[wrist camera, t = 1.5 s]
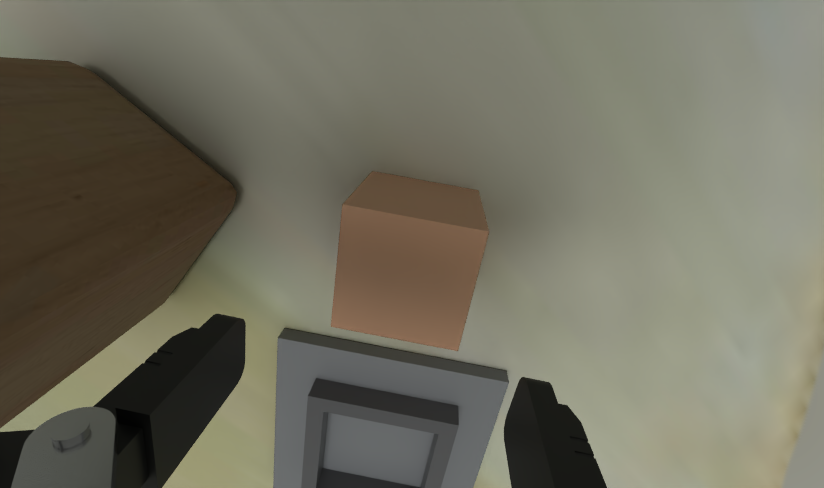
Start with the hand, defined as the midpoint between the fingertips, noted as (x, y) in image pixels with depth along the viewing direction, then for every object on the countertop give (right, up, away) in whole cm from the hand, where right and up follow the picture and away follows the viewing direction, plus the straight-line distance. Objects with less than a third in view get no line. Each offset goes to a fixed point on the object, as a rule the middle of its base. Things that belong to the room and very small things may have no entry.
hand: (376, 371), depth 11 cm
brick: (+1, +4, +10) cm, 11 cm away
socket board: (-1, -9, +15) cm, 18 cm away
